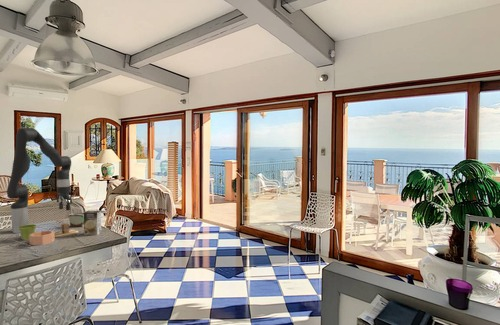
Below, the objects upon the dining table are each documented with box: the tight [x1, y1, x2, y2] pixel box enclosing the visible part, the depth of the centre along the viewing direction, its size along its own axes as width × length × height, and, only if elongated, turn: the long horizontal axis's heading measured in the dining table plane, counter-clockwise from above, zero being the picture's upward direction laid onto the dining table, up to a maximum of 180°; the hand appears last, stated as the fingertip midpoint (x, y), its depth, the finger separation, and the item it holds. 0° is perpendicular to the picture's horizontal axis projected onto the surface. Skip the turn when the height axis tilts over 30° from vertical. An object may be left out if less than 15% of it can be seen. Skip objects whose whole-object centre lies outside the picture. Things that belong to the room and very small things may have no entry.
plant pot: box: [19, 224, 38, 241], centre depth 191 cm, size 9×9×9 cm
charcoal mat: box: [55, 230, 84, 241], centre depth 200 cm, size 17×17×1 cm
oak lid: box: [54, 223, 79, 238], centre depth 200 cm, size 15×15×7 cm
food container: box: [67, 212, 84, 228], centre depth 222 cm, size 12×6×10 cm, turn 84°
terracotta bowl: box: [28, 230, 56, 246], centre depth 184 cm, size 12×12×6 cm
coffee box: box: [83, 210, 102, 236], centre depth 201 cm, size 9×6×16 cm
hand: (64, 209), depth 199 cm, fingers open, 8 cm apart
